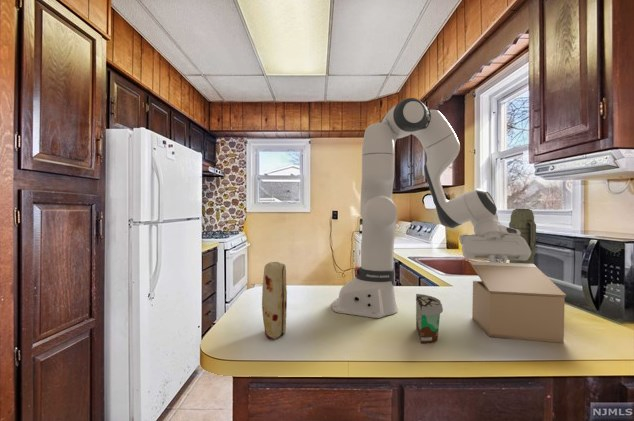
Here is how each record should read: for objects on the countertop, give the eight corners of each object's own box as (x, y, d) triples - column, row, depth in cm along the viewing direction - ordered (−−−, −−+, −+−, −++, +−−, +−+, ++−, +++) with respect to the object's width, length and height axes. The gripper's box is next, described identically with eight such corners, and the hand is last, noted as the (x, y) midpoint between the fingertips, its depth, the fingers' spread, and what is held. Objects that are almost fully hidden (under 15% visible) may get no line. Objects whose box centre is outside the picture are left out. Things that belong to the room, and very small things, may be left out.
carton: (489, 337, 82) (490, 293, 82) (472, 318, 96) (472, 280, 95) (563, 342, 79) (564, 297, 79) (534, 322, 92) (535, 283, 92)
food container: (447, 348, 75) (447, 309, 75) (421, 346, 76) (422, 307, 76) (437, 328, 87) (438, 294, 87) (415, 326, 88) (416, 293, 88)
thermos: (517, 292, 124) (518, 208, 124) (543, 301, 113) (545, 208, 112) (498, 293, 123) (500, 208, 122) (524, 303, 111) (526, 208, 110)
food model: (264, 327, 87) (265, 259, 87) (287, 327, 87) (288, 259, 87) (259, 343, 77) (259, 265, 77) (285, 342, 78) (285, 265, 77)
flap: (489, 292, 82) (489, 290, 81) (470, 263, 98) (470, 261, 97) (565, 297, 78) (566, 294, 78) (532, 265, 94) (533, 263, 94)
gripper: (460, 228, 105) (468, 261, 95) (524, 230, 101) (540, 264, 92) (456, 239, 109) (464, 272, 100) (517, 241, 106) (532, 275, 96)
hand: (501, 268), depth 96 cm, fingers closed, pressing on flap
